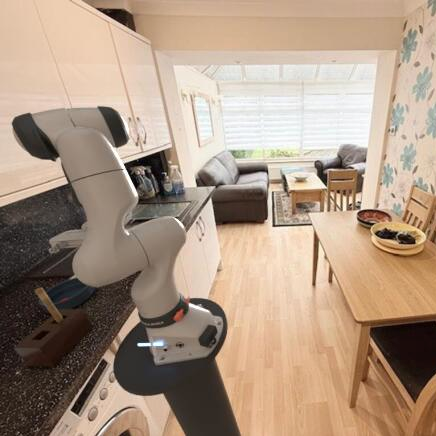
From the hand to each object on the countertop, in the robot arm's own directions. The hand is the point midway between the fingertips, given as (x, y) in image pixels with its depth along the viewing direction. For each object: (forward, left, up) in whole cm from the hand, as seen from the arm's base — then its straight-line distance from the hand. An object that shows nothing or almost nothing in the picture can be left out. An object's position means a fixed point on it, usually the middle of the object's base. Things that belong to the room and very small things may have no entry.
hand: (65, 250), depth 76 cm
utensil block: (-1, +15, -25) cm, 29 cm away
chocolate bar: (+24, -24, -25) cm, 43 cm away
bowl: (+15, -4, -25) cm, 30 cm away
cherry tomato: (+13, 0, -23) cm, 26 cm away
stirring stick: (-1, +12, -25) cm, 28 cm away
